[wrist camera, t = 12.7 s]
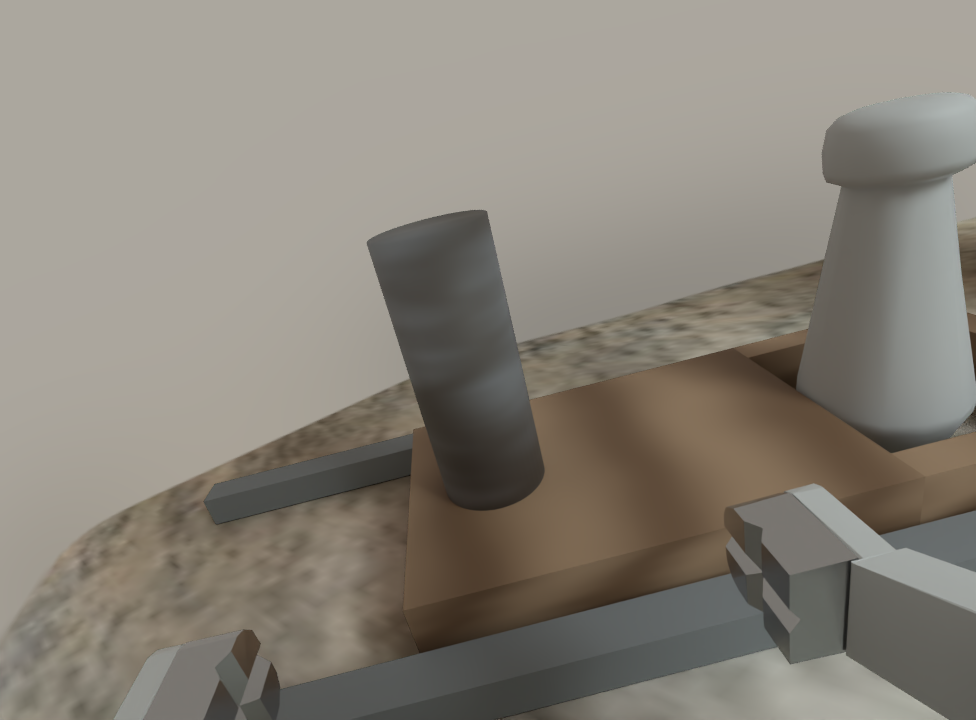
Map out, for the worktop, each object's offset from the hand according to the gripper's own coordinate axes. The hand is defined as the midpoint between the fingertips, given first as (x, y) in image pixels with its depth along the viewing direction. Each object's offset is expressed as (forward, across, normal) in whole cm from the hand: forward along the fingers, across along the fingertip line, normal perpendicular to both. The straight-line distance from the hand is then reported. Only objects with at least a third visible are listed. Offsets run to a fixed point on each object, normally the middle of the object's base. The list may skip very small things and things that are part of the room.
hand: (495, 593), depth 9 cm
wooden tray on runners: (+11, -10, +8) cm, 16 cm away
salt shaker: (+11, -16, +8) cm, 21 cm away
